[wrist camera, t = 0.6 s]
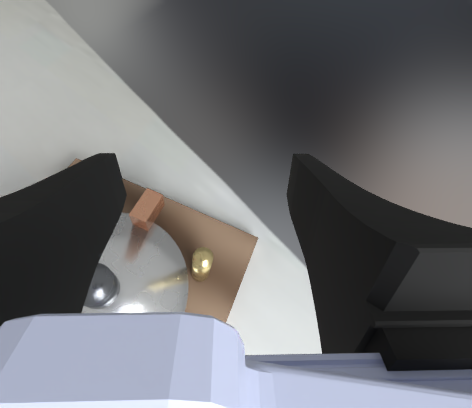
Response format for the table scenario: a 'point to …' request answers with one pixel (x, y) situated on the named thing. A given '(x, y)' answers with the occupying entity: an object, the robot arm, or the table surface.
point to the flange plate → (139, 266)
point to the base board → (203, 235)
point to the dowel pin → (201, 263)
